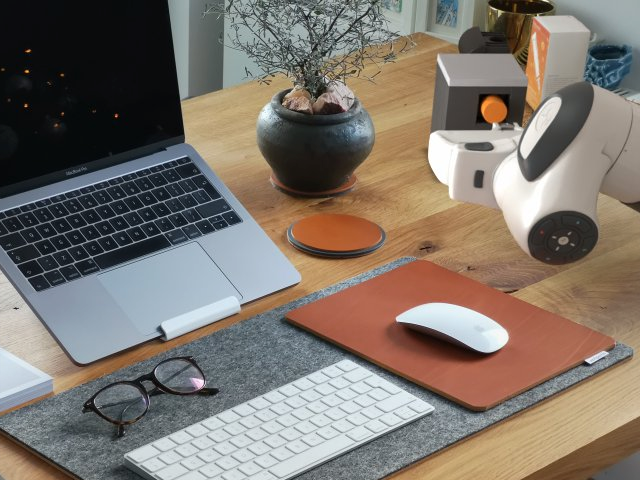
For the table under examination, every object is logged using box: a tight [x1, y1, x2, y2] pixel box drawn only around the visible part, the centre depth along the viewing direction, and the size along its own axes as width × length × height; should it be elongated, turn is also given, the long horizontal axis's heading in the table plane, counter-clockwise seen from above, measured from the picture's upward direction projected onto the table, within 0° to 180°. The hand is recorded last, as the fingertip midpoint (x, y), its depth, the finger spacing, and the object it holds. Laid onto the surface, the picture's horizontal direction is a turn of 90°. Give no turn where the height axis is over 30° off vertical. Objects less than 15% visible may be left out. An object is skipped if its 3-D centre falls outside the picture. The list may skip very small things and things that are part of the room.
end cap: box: [457, 25, 511, 54], centre depth 181 cm, size 10×7×7 cm
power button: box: [480, 94, 507, 124], centre depth 143 cm, size 3×3×3 cm
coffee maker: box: [429, 53, 529, 136], centre depth 148 cm, size 10×10×14 cm
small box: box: [525, 14, 592, 112], centre depth 167 cm, size 8×6×13 cm
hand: (503, 128), depth 137 cm, fingers closed
